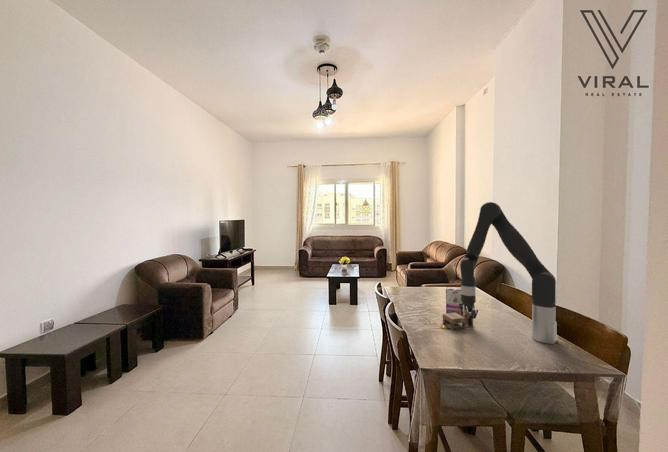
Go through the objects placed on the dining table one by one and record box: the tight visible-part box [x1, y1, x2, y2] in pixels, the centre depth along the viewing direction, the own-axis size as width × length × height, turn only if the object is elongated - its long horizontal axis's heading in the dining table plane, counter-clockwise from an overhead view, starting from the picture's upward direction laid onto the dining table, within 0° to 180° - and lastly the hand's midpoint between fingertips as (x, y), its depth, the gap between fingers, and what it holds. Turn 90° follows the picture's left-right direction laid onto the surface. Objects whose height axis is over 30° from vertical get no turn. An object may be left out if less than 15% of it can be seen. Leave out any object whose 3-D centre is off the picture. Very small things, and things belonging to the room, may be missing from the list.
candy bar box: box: [445, 286, 464, 317], centre depth 178 cm, size 11×5×16 cm, turn 62°
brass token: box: [439, 324, 449, 330], centre depth 158 cm, size 4×4×1 cm
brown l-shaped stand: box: [445, 314, 474, 329], centre depth 160 cm, size 15×4×6 cm, turn 102°
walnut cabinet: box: [442, 313, 466, 331], centre depth 159 cm, size 8×9×6 cm
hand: (468, 323), depth 161 cm, fingers closed on brown l-shaped stand, 2 cm apart
